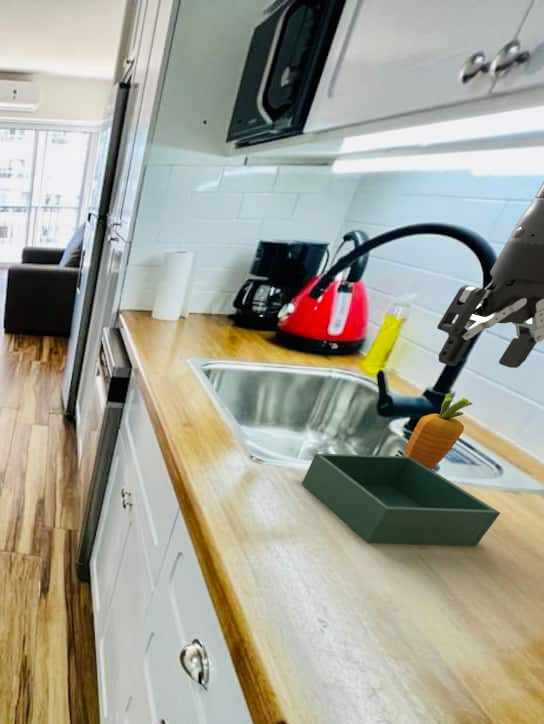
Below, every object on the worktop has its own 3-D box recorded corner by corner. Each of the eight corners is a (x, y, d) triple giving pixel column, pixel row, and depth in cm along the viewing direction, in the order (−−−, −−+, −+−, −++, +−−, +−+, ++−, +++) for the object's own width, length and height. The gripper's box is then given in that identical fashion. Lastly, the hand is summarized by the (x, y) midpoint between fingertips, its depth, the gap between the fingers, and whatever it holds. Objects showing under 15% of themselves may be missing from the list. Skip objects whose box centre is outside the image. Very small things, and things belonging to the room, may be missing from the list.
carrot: (390, 469, 80) (437, 386, 73) (429, 481, 77) (482, 395, 70) (385, 480, 77) (434, 394, 70) (426, 493, 74) (482, 405, 67)
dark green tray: (392, 486, 76) (409, 456, 73) (475, 546, 63) (501, 512, 61) (301, 483, 76) (315, 453, 73) (367, 542, 64) (387, 508, 61)
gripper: (524, 242, 56) (449, 372, 64) (648, 245, 56) (557, 376, 64) (466, 235, 63) (404, 354, 71) (576, 238, 63) (502, 358, 71)
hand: (477, 364), depth 68 cm, fingers open, 8 cm apart
